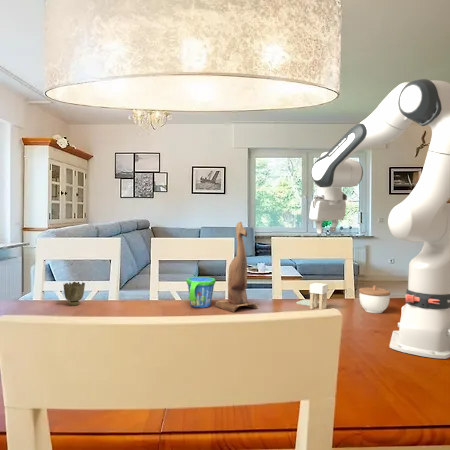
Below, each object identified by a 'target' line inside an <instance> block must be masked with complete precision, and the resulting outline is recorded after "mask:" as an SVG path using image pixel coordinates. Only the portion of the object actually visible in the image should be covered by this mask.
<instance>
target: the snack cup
mask: <svg viewBox="0 0 450 450" xmlns="http://www.w3.org/2000/svg"><path fill="white" fill-rule="evenodd" d="M185 282H186V284H187V286H188V287H187V289H188V299H189V304H190V307H193V308H195V309H196V308H198V309H199V308H201V309H204V308H208V307H210V306H211V305H212V298H213V293H214V287H215V284H216V279H215V278H213V277H210V276H191V277H188V278H186V281H185Z"/></svg>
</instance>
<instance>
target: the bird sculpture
mask: <svg viewBox="0 0 450 450" xmlns="http://www.w3.org/2000/svg"><path fill="white" fill-rule="evenodd" d="M235 231H236V232H235V234H236V255H235V256H234V258H233V259H232V260H231V262H230V264H229V266H228V278H227V299H223V300H222V299H220V300H217V301H215V307H217V308H218V309H222V310H225V311H227V312H232V313H233V314H234V313H235V312H236V310H237V309H239V307H242V306H244V307H245V306H246V307H249V308H254V309H258V308H259V307H258V304H257V303H254V302H250V301H248V295H247V287H248V285H247V284H248V260H247V251H246V247H245V246H246V245H245V242H244V241H245V240H244V237H246V238H247V237H248V231H247V229H246V228H245V227H244V225H243V223H242V221H238V222H237V223H236V225H235ZM243 236H244V237H243Z"/></svg>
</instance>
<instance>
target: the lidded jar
mask: <svg viewBox="0 0 450 450" xmlns="http://www.w3.org/2000/svg"><path fill="white" fill-rule="evenodd" d="M358 292H359V294H358V295H359V296H358V299H359V303H360V306H361V307H362V308H363V309H364V311H365V312H367V313H370V314H383V312H384V311H385V310H386V309H387V308H388V307H389V304H390V299H391V298H390V297H391V290H388V289H385V288H381V287H377V285H373V286H372V287H361V288H359V289H358Z"/></svg>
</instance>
